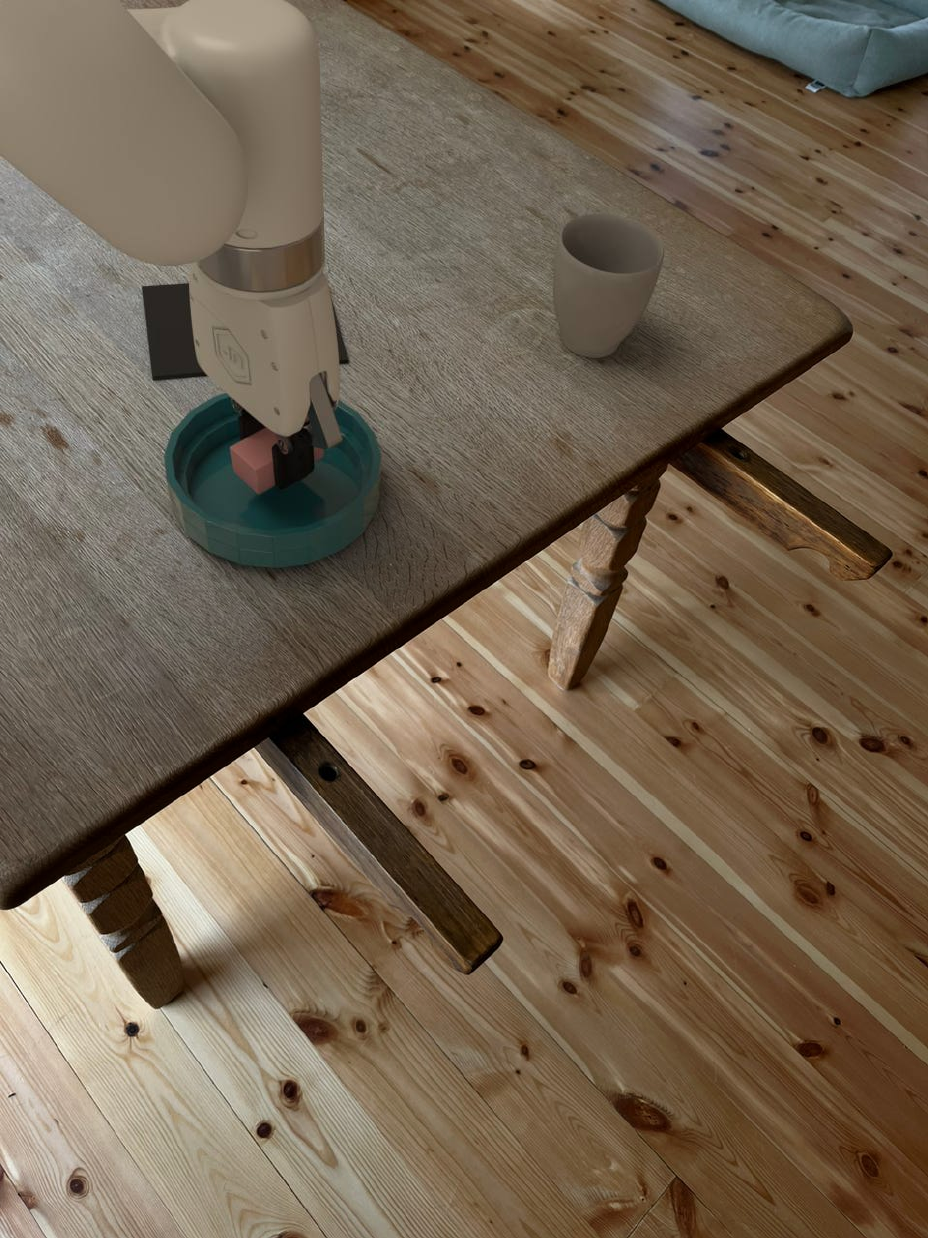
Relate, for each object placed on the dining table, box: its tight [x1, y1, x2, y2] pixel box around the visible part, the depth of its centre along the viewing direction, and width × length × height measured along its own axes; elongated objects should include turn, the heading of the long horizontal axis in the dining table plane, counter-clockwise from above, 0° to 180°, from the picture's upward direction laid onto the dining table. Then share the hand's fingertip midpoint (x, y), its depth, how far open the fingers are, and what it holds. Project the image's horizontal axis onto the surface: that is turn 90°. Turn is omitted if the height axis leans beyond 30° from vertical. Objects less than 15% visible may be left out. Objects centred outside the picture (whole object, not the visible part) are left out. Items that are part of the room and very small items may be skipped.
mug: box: [552, 212, 665, 359], centre depth 87 cm, size 12×9×10 cm
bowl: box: [163, 392, 382, 569], centre depth 74 cm, size 15×15×4 cm
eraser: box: [230, 427, 324, 494], centre depth 72 cm, size 6×3×2 cm, turn 134°
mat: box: [141, 282, 349, 381], centre depth 86 cm, size 16×12×1 cm
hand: (278, 462), depth 73 cm, fingers closed on eraser, 3 cm apart
